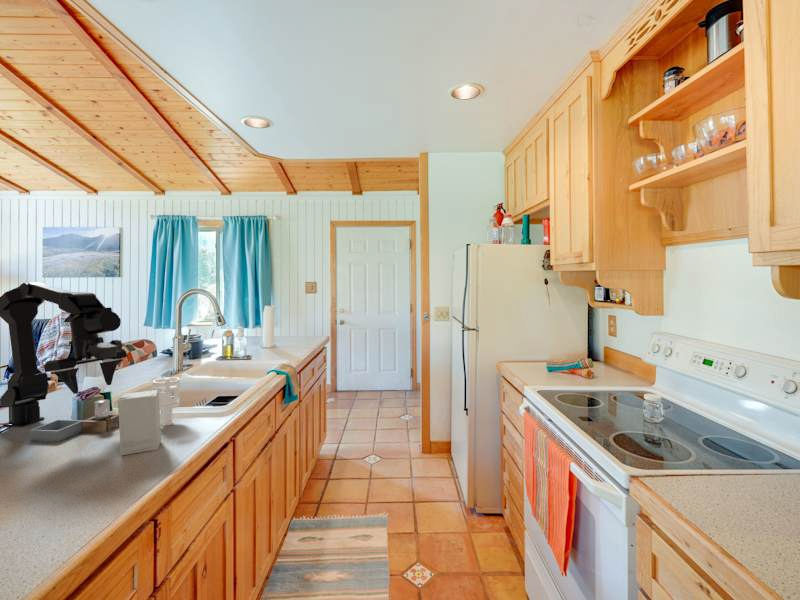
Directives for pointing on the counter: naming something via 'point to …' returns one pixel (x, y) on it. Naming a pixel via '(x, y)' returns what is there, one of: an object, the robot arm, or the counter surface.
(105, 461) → the counter surface
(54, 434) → the tray
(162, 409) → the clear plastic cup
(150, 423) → the skincare box
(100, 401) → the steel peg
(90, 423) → the socket block
